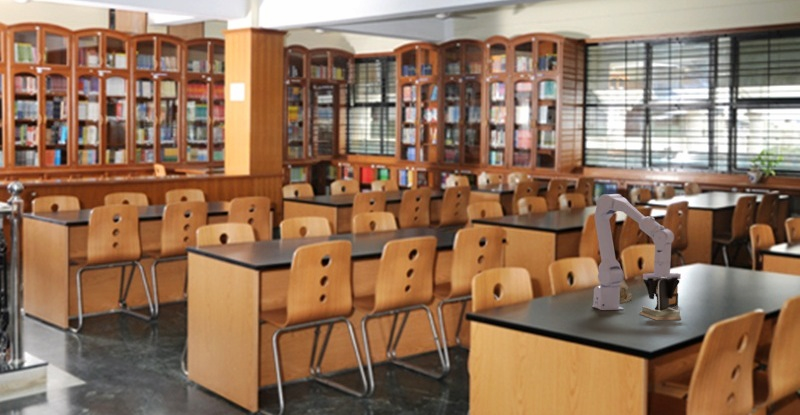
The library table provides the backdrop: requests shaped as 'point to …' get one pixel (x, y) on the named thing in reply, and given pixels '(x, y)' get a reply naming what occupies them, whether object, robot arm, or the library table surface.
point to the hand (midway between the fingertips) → (660, 298)
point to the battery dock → (661, 313)
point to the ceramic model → (624, 293)
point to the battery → (662, 294)
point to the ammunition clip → (674, 299)
